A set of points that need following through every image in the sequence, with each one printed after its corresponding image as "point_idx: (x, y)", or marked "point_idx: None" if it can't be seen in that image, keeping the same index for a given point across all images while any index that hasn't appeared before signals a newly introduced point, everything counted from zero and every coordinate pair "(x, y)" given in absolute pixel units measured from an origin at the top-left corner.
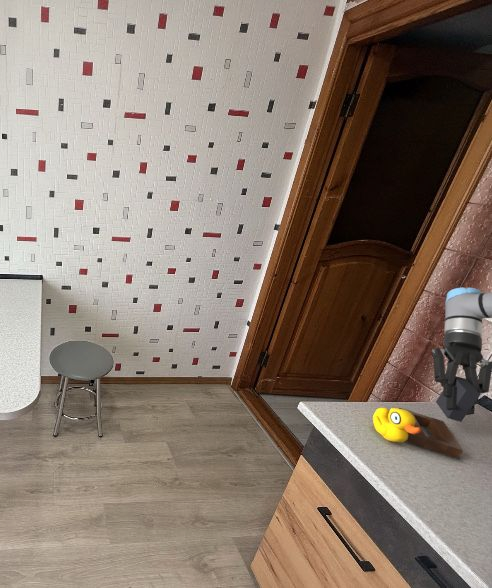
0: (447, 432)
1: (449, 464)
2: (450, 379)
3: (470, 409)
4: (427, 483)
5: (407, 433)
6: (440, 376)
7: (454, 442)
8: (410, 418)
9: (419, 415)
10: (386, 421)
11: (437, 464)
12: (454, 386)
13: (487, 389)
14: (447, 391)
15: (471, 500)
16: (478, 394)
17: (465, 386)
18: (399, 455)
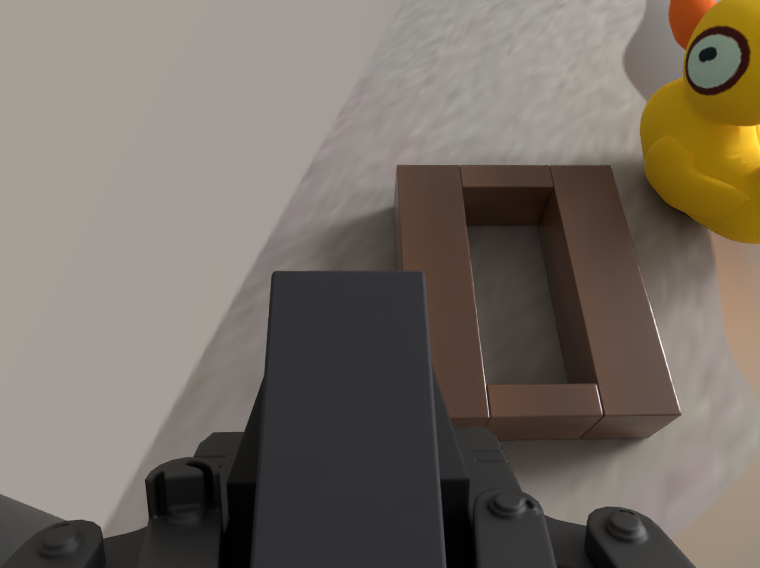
0: (427, 284)
1: (443, 151)
2: (529, 551)
3: None
4: (550, 22)
5: (667, 88)
6: (669, 550)
7: (419, 209)
8: None
9: (559, 389)
10: (756, 151)
11: (493, 126)
12: (460, 472)
13: (31, 557)
14: (494, 453)
15: (429, 18)
16: (293, 276)
17: (388, 392)
18: (630, 103)
